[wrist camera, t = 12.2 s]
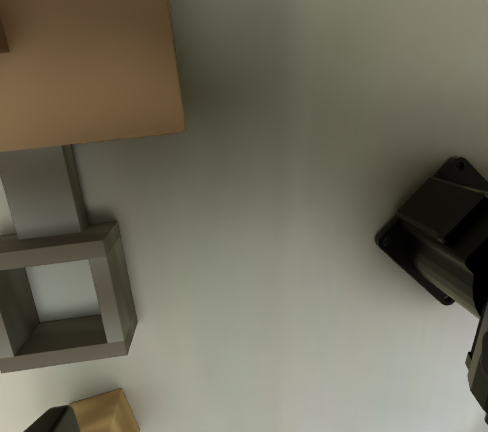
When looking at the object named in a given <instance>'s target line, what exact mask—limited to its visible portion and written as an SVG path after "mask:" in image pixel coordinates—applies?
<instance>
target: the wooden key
mask: <svg viewBox="0 0 488 432" xmlns="http://www.w3.org/2000/svg"><path fill="white" fill-rule="evenodd" d="M69 405H70V406H72V408H73V409H74V412H75V415H76V418H77V421H78V425H79V428H80V431H81V432H140V429H139V427H138V424H137V422H136V420H135V417H134V415H133V413H132V411H131V408H130V406H129V404H128V401H127V399H126V397H125V395H124V392H123V390H122V388H121V389H118V390H115V391H111V392H108V393H104V394H101V395H98V396H94V397H91V398H88V399H84V400H81V401H77V402H74V403H71V404H69Z"/></svg>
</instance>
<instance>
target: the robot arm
mask: <svg viewBox="0 0 488 432" xmlns="http://www.w3.org/2000/svg"><path fill="white" fill-rule="evenodd" d="M458 162H459V164H460V165H459V168H458V169H457V170H456V169H455V166H456V164H457V163H458ZM385 238H388V242H387V243H385V244H383V240H384V239H385ZM375 242H376V245H377V246H378V247H379V248H380V249H381V250H382V251H383V252H385V253H386V254H387V255H388V256H389V257H390V258H391V259H392V260H394V261H395V262H396V263H397V264H398V265H399V266H400V267H401V268H402V269H404V270H405V271H406V272H407V273H408V274H409V275H410V276H411V277H412V278H414V279H415V280H416V281H417V282H418V283H419V284H420V285H421V286H423V287H424V288H425V289H426V290H427V291H428V292H429V293H430V294H431V295H433V296H434V297H435V298H436V299H437V300H438V301H439V302H441V303H442V304H443V305H451V304H453V303H454V302H455V301H456V302H457V303H459V304H460V305H461V306H463V307H464V308H465V309H467V310H468V311H469V312H471V313H472V314H473V315H474V316H476V317H477V318H478V319H480V320H479V324H478V328H477V331H476V335H475V339H474V342H473V346H472V350H471V352H468V354H467V358H466V362H465V364H466V366H467V368H468V370H469V372H468V381H469V386H470V391H471V392H472V394H473V395H474V397H475V398H476V400H477V401H478V403H479V404H480V406H481V407H482V408H483V410H484V411H485V412H486V415H485V422H486V423H487V424H488V182H487V181H486V180H485V179H484V178H483V177H482V176H481V174H480V173H479V172H478V171H477V170H476V169H475V168H474V167H473V166H472V165H471V164H470V163H469V162H468V161H467V159H465V158H463V157H452V158H451V159H450V160H449V161H448V162H447V163H446V164H445V165H444V166H443V167H442V168H441V169H440V170H439V171H438V172H437V173H436V174H435V175H434V176H433V177H432V178H429V179H428V180H427V181H426V182H425V183H424V184H423V185H422V186H421V187H420V188H419V189H418V190H417V191H416V192H415V193H414V194H413V195H412V196H411V198H410V199H409V200H408V201H407V202H406V203H405V204H404V205H403V206H402V207H401V208H400V209H399V210H398V214H397V215H396V216H395V217H394V218H393V219H392V220H391V221H390V222H389V223H388V225H387V226H386V227H385V228H384V229H383V230H382V231H381V232H380V233H379V234H378V235H377V237H376V240H375ZM446 295H448V297H447V298H445V299H444V297H445V296H446ZM24 432H81V431H80V428H79V425H78V421H77V418H76V415H75V412H74V409H73V408H72V406H70V405H65V406H59V407H53V408H50V409H49V410H47V411H46V412H45V413H44V414H43V415H42V416H41V417H39V418H38V419H37V420H36V421H35V422H34V423H33V424H32V425H30V426H29V427H28V428H27V429H26V430H25V431H24Z"/></svg>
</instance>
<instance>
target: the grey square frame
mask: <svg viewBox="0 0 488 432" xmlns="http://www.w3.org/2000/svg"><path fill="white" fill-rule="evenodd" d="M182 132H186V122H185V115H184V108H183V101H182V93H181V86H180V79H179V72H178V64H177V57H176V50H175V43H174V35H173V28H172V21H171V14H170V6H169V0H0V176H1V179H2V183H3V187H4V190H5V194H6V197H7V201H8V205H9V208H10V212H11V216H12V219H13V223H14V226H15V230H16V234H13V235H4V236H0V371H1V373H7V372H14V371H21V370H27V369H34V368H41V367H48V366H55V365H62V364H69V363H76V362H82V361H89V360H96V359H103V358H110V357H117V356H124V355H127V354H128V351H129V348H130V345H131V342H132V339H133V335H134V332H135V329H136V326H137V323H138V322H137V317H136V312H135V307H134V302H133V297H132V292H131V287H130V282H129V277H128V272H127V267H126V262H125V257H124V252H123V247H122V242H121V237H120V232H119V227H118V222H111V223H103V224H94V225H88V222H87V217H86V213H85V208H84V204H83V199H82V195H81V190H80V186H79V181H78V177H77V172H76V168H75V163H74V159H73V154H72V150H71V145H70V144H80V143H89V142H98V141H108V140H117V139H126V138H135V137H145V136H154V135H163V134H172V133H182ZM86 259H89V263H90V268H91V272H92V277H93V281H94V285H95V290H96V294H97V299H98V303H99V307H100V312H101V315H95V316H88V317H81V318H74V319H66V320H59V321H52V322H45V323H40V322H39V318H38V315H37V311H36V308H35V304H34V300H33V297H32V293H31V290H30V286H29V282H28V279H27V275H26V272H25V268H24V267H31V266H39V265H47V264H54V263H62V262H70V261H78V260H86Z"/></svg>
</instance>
